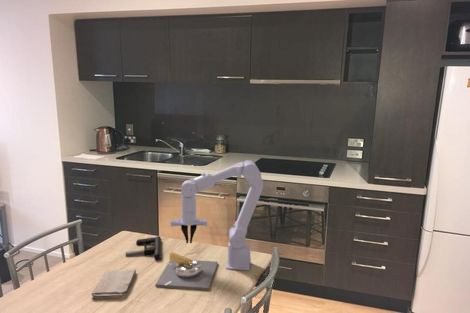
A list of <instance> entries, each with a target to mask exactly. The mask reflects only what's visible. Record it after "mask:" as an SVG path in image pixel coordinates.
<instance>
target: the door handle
mask: <svg viewBox="0 0 470 313" xmlns="http://www.w3.org/2000/svg"><path fill="white" fill-rule="evenodd" d="M135 244H136V246H143V245H144V248H143V249H141V250H139V249H138V250H133V251H132V250H131V251H126V252H125V257H137V256H138V257H139V256H144V257H145V256H153V259H154V260H156V261H158V260H160V259H161V257H162V256H163V254H162V237H161V236H159V235H157V236H155V237H149V238H139V239H136V243H135ZM147 245H148V246H149V247H147ZM152 245H153V246H152Z"/></svg>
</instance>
